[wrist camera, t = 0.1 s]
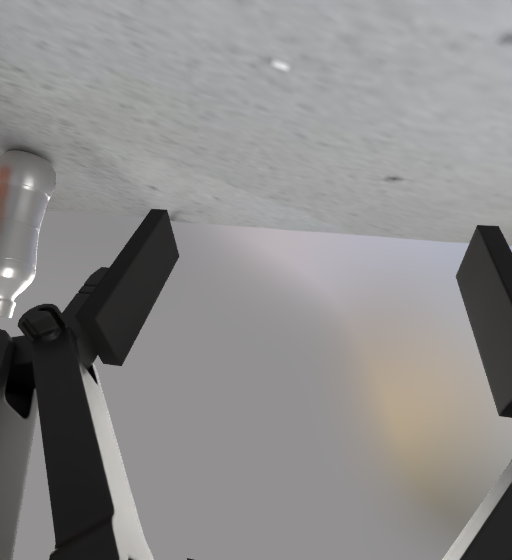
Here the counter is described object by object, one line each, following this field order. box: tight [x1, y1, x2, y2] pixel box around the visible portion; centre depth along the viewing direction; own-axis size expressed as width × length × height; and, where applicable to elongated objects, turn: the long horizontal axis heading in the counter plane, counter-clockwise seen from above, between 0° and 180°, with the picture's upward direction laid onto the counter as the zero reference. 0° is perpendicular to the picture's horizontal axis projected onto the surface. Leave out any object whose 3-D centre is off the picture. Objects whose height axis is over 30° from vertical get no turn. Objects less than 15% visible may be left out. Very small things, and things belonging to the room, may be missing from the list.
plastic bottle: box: [0, 150, 56, 318], centre depth 44 cm, size 6×7×20 cm
